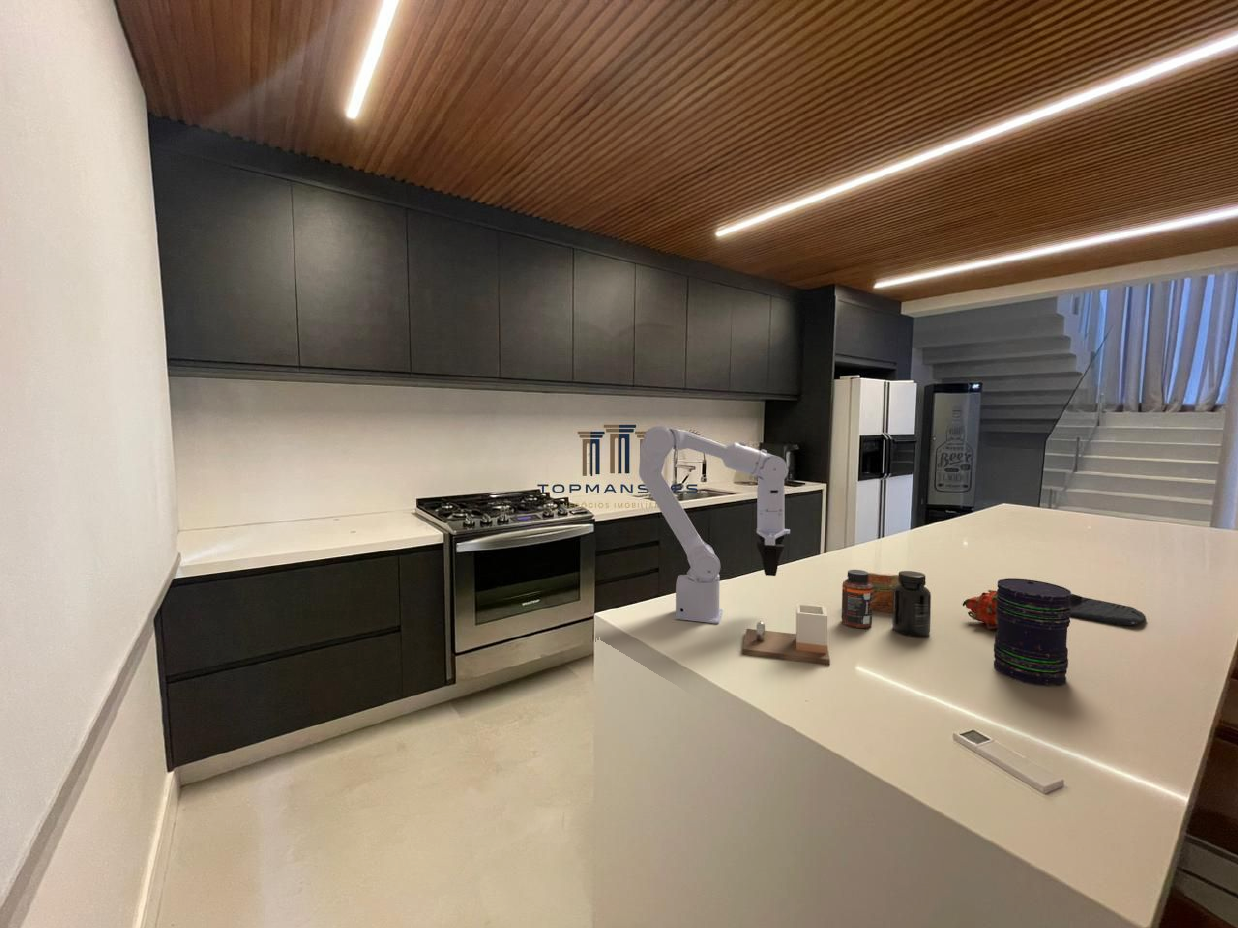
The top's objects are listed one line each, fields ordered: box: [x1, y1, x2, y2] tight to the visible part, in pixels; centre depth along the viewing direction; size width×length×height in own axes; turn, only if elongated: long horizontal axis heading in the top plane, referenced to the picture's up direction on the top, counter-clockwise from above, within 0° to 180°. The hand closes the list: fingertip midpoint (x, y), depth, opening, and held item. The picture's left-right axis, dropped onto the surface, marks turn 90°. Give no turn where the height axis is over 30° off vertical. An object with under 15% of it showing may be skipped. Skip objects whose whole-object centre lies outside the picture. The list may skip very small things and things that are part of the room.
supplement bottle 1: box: [841, 569, 874, 629], centre depth 109 cm, size 6×6×11 cm
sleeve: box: [795, 603, 828, 654], centre depth 96 cm, size 5×5×7 cm
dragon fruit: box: [962, 589, 998, 631], centre depth 106 cm, size 8×8×12 cm
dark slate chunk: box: [1070, 593, 1147, 626], centre depth 116 cm, size 15×22×5 cm
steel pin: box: [756, 621, 766, 642], centre depth 99 cm, size 2×2×4 cm
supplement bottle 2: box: [891, 570, 932, 638], centre depth 105 cm, size 7×7×12 cm
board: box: [742, 628, 831, 666], centre depth 98 cm, size 15×10×1 cm, turn 72°
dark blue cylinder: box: [993, 577, 1072, 688], centre depth 87 cm, size 10×10×15 cm
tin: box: [868, 572, 899, 614], centre depth 117 cm, size 15×3×8 cm, turn 68°
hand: (771, 570), depth 113 cm, fingers open, 7 cm apart
